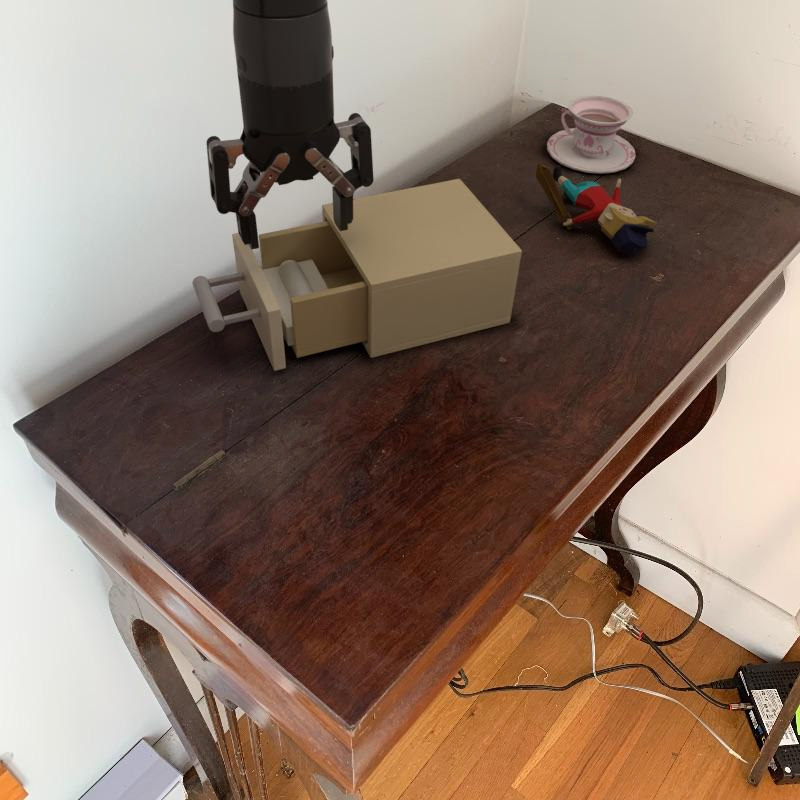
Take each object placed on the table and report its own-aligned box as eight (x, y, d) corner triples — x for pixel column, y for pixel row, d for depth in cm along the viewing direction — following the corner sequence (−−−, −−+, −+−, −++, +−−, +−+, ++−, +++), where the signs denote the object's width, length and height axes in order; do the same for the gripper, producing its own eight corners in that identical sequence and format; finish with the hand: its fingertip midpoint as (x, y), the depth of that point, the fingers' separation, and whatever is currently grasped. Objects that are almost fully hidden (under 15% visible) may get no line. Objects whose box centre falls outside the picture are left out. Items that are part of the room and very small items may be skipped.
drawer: (222, 384, 75) (212, 324, 70) (193, 302, 83) (181, 243, 78) (414, 336, 81) (417, 277, 75) (368, 264, 89) (368, 206, 84)
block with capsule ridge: (343, 333, 79) (342, 304, 76) (288, 346, 77) (285, 317, 75) (313, 277, 85) (311, 249, 82) (261, 288, 83) (258, 260, 81)
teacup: (637, 139, 113) (648, 96, 108) (631, 181, 105) (643, 137, 100) (552, 126, 115) (559, 83, 110) (540, 167, 106) (548, 123, 102)
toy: (591, 146, 98) (676, 210, 90) (577, 192, 103) (656, 257, 94) (531, 158, 94) (614, 226, 86) (519, 206, 99) (597, 275, 90)
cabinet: (370, 358, 79) (371, 284, 73) (325, 276, 88) (321, 204, 82) (510, 322, 84) (522, 250, 77) (453, 248, 93) (459, 178, 86)
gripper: (353, 32, 68) (355, 201, 79) (184, 54, 63) (212, 228, 75) (386, 68, 63) (383, 242, 74) (205, 94, 59) (231, 274, 70)
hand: (297, 235), depth 75 cm, fingers open, 8 cm apart
